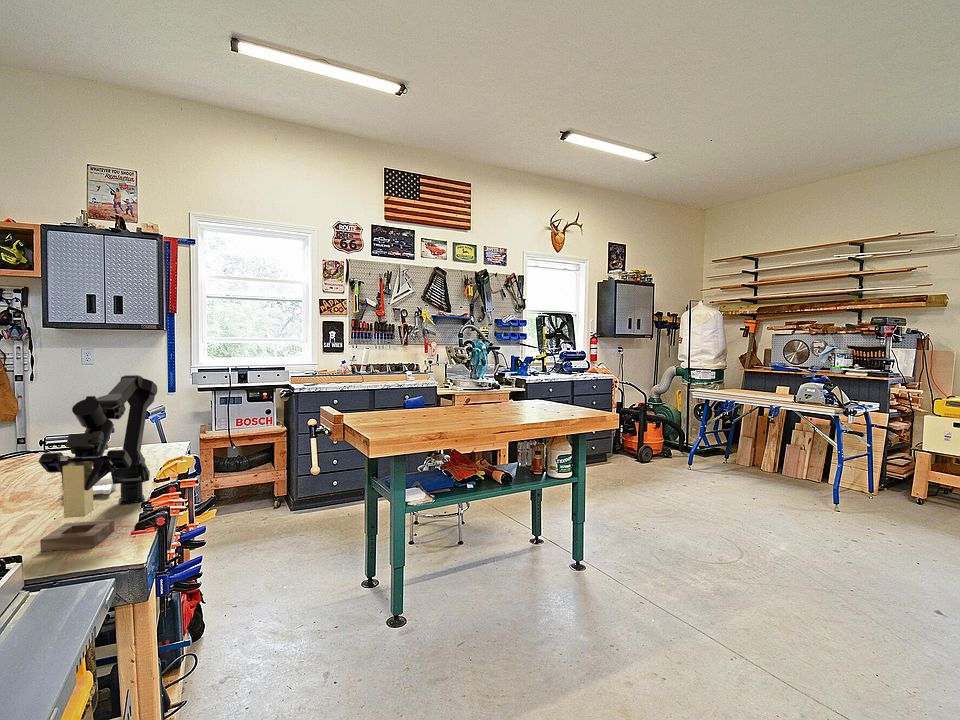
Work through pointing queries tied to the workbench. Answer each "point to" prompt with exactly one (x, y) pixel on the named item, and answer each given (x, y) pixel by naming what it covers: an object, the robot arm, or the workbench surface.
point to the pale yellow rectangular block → (77, 489)
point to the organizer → (104, 485)
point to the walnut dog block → (77, 535)
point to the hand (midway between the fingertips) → (75, 490)
